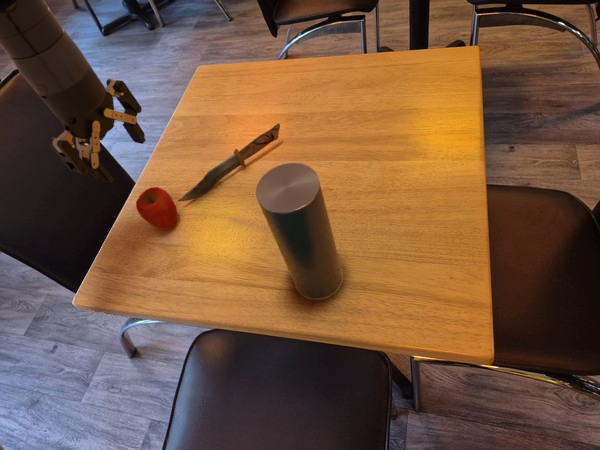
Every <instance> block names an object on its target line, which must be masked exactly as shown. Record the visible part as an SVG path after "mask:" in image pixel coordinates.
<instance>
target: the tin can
mask: <svg viewBox="0 0 600 450" xmlns="http://www.w3.org/2000/svg"><path fill="white" fill-rule="evenodd" d="M255 196H256V200H257V202H258V204H259V206H260V209H261V211H262V213H263V214H262V215H264V218H265V220H266V223H267V225H268V227H269V230H270V232H271V233H272V236H273V238H274V241H275V243H276V245H277V247H278V250H279V252H280V254H281V256H282V259H283V262H284V263H285V265H286V268H287V270H288V272H289V274H290V277H291V279H292V281H293V284H294V286H295V289H296V291H297V292H298V293H299V294H300V295H301V296H302V297H303V298H305V299H308V300H312V301H321V300H326V299H328V298H330V297H332V296H334V295H335V294H336V293H337V292H338V291H339V290H340V288H341V286H342V285H343V281H344V272H343V268H342V265H341V262H340V257H339V254H338V250H337V245H336V241H335V238H334V235H333V230H332V225H331V222H330V218H329V214H328V210H327V205H326V201H325V199H324V194H323V190H322V185H321V182H320V177H319V175H318V173H317V172H316V171H315V170H314V169H313V168H312V167H311V166H309V165H307V164H304V163H301V162H300V163H299V162H287V163H282V164H279V165H276V166H274V167H272V168H271V169H269V170H267V172H265V173H264V174H263V175H262V176H261V177H260V179H259V181H258V182H257V185H256V188H255Z"/></svg>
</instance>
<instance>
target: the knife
mask: <svg viewBox="0 0 600 450" xmlns="http://www.w3.org/2000/svg"><path fill="white" fill-rule="evenodd" d="M280 128H281V124H280V123H276V124H275V125H274V126H273V127H271V128H270V129H269V130H267V131H265V132H263V133H262V134H260V135H258V136H257V137H256V138H255V139H253V140H252V141H250V142H249V143H248V144H247V145H245V146H244V147H243V148H241V150H239V149H238V148H235V149H234V151H233V154H232V155H231V156H229V157H228V158H226V159H224V160H223V161H222V162H220V163H219V164H217V165H216V166H215V167H213V168H212V169H210V170H209V171H207V173H206V174H205V175H204V176H203V177H202V179H201V180H200V181H199V182H198V183H197V184H196V185H195V186H194V187H192V188H191V189H190V190H188V192H186V193H185V194H183V195H182V196H181V197H179V198H178V199H177V200H176V201H175V202H176V203H177V202H178V203H179V202H187V201H192V200H195V199H197V198H200V197H202V196H205V194H207V193H208V192H210V191H211V190H212V189H213V188H214V187H215V186H216V185H217V184H218V183H219V182H220V181H222V179H224V178H225V177H226V176H227V175H229V174H230V173H232V172H233V171H235V170H236V169H237V168H239V167H240V166H241V167H243V168H244V167H246V164H245V163H246V160H248V159H249V158H251V157H252V156H254V155H256V154H257V153H259V152H260V151H262V150H263V149H264V148H266V147H267V146H268V145H270V144H271V143H272V142H275V141H277V140H278V139H279V134H280Z"/></svg>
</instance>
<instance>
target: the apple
mask: <svg viewBox="0 0 600 450" xmlns="http://www.w3.org/2000/svg"><path fill="white" fill-rule="evenodd" d="M135 208H136V211H137V213H138V214H139V215H140V217H141V218H142V219H143V220H144V221H146V223H148V224H149V225H151V226H153V227H155V228H157V229H160V230H168V229H170V228H173V227H174V226H175V225H176V223H177V220H178V210H177V206H176V204H175V201H174V200H173V198H172V196H171V195H170V193H169V192H167V190H165V189H163V188H161V187H159V186H152V187H149V188H147V189H145V190H144V191H143V192H142V193H141V194H139V196H138V198H137V200H136V201H135Z"/></svg>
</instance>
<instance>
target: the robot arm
mask: <svg viewBox="0 0 600 450" xmlns="http://www.w3.org/2000/svg"><path fill="white" fill-rule="evenodd" d="M0 48H1V49H2V50H3V51H4V52H5V53H6V54H7V56H8V57H9V58H10V60H11V61H12V62H13V64H14V66H15V67H16V69H17V70H18V72H19V74H20V75H21V76H22V78H24V80H25V81H26V82H27V83H28V85H29V86H30V88H31V89H33V90H34V92H35V93H36V94H37V95H38V97H39V98H40V99H41V100H42V101H43V103H44V104H45V105H46V106H47V107H48V109H49V110H50V111H51V112H52V113H53V115H54V116H55V117H56V118H58V120H59V121H61V124H62V126H63V128H64V131H63V132H62V133H61V134H60V135H58V136H57V137H50V138H49V140H48V144H49V146H50V147H51V148H52V150H53V151H54V152H55V153H56V155H57V156H58V157H59V158H60V160H61V162H63V163H64V165H65V166H66V167H67V168H68V169H69V171H70V172H72V173H77V174H81V175H83V176H86V175H88V174H89V173H90V174H91V175H92V176H93V178H94V179H95V180H96V181H98V182H100V183H105V184H106V183H108V184H111V183H112V182H113V181H114V180H115V179H114V177H113V176H112V175H111V173H109V171H108V170H107V169H106V167H105V166H104V165H103V164H102V163H100V161H99V152H101V141H103V140H104V139H105V137H106V136H107V134H108V132H110V131H111V130H112V129H113V128H114V127H115V121H117V122H121V123H123V124H122V126H123V128H124V130H125V131H126V132H127V134H128V135H129V137H130V138H131V140H132V141H133V142H134V143H137V144H142V145H144V143H145V142H146V141H147V140H146V138H145V137H146V135H145V132H144V131H143V129H142V127H141V126H140V124H139V122H138V117H137V116H138V115H139V114H140V113H141V112H142V106H141V104H140V103H139V102H138V100H137V99H136V97H135V96H134V95H133V93H132V91H131V90H130V88H129V87H128V86H127V84H126V83H125V82H124V80H121V79H114V78H108V79H106V87H105V85H104V84H103V82H102V81H101V78H100V77H99V76H98V75H97V73H96V72H95V71H94V69H93V67H92V66H91V64H90V63H89V61H88V60H87V58H86V56H84V54H83V52H82V51H81V50H80V48H79V46H78V45H77V44H76V42H75V41H74V40H73V38H71V36H69V34H68V33H67V32H66V30H65V29H64V27H62V25H61V24H60V22H59V20H58V19H57V17H56V16H55V15H54V13H53V12H52V10H51V9H50V7H49V5H48V4H47V2H46V1H45V0H0ZM114 98H116V99H117V102H118V103H119V104H120V105H121V106H122V108H123V109H124V111H122V112H121V111H119V110H115V105H114V104H115V103H114ZM73 138H75V144H74V142H73ZM87 141H89V143H87ZM75 148H76V149H77V150H78V153H77V151H76V150H75ZM0 450H6V449H5V448H4V447H3V445H2V444H1V443H0Z"/></svg>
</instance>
